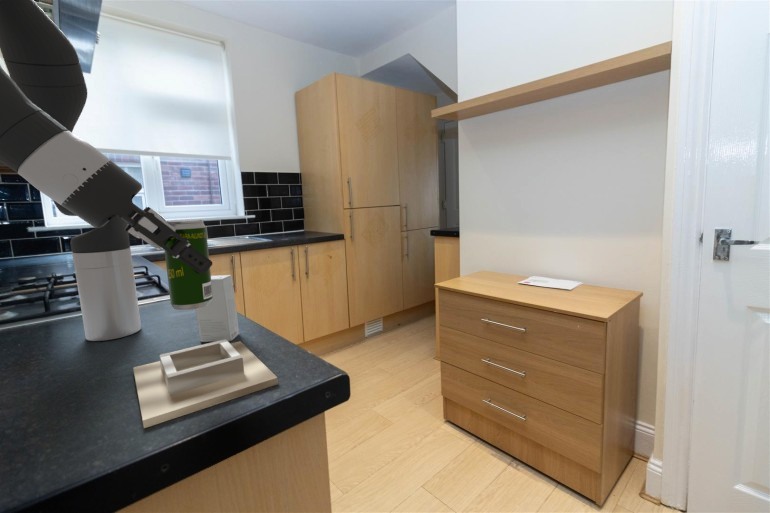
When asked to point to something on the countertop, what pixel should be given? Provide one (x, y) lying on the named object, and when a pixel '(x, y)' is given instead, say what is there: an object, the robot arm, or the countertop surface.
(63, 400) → the countertop surface
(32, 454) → the countertop surface
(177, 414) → the socket plate
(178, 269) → the beer can
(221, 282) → the skincare box
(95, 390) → the countertop surface
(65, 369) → the countertop surface
